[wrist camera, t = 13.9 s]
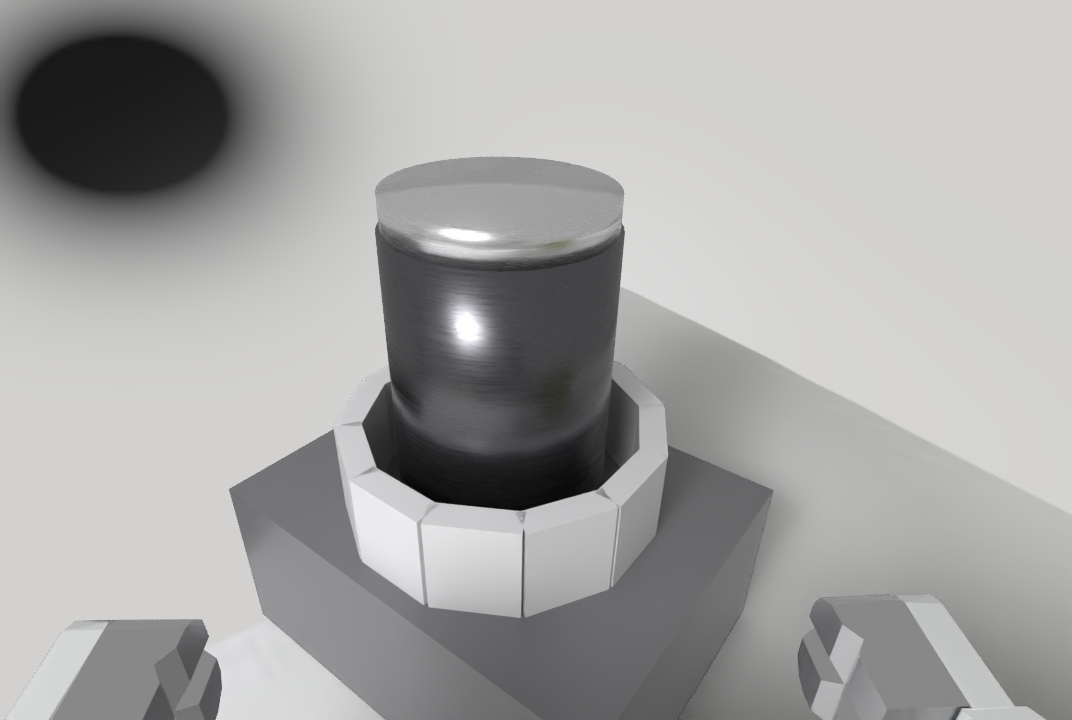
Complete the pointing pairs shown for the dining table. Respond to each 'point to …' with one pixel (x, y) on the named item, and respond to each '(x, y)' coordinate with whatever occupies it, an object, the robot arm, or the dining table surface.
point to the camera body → (505, 573)
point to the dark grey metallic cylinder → (500, 326)
